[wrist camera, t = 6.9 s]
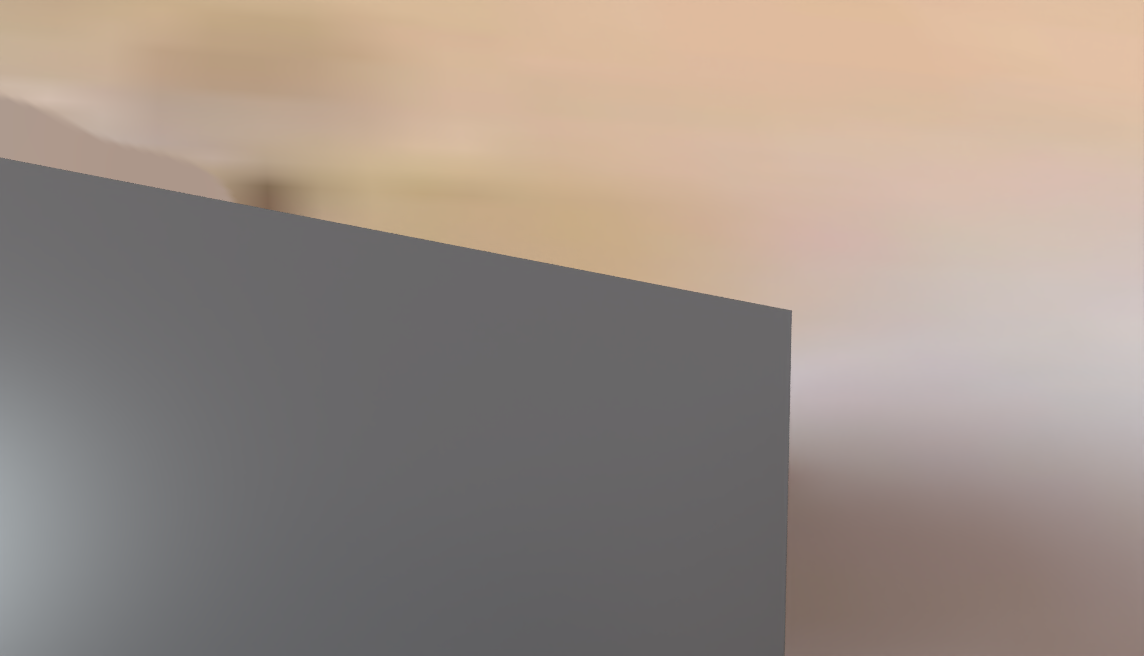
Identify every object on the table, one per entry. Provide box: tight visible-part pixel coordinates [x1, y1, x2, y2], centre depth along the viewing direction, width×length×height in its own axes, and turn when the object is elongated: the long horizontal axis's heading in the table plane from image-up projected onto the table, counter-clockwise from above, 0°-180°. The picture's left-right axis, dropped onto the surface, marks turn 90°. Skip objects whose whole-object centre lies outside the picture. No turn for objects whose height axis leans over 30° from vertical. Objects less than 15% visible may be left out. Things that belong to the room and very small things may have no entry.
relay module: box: [0, 158, 792, 656], centre depth 8 cm, size 4×5×12 cm
